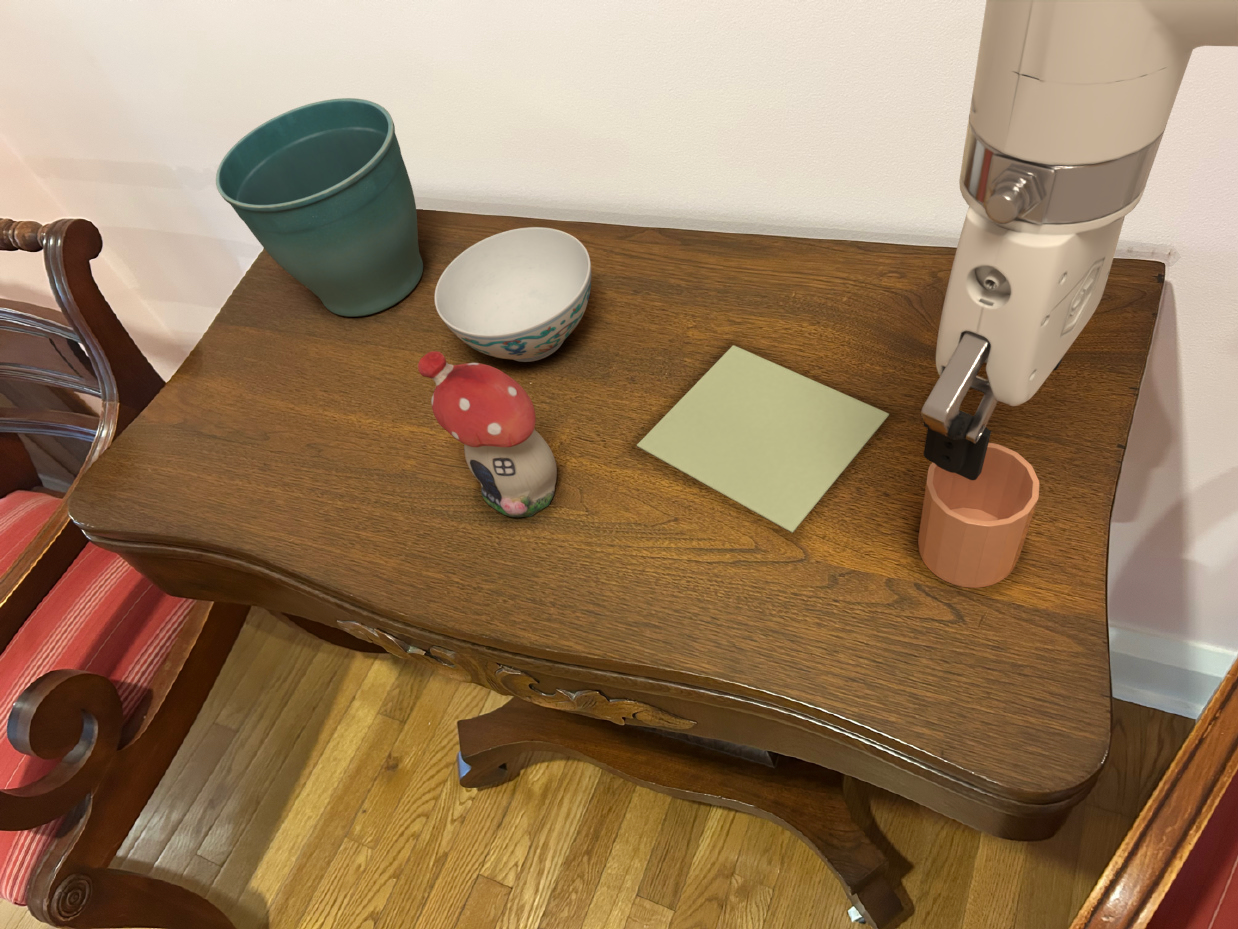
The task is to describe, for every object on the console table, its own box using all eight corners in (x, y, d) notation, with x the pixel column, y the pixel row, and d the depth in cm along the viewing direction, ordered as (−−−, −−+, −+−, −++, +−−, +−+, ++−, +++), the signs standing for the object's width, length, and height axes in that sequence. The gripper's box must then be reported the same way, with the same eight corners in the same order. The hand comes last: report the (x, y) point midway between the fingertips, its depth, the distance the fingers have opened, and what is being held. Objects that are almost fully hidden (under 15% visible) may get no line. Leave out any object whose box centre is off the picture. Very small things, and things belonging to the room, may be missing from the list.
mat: (889, 415, 71) (889, 413, 71) (792, 533, 66) (792, 532, 65) (733, 346, 79) (733, 344, 79) (636, 446, 74) (636, 445, 74)
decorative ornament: (460, 481, 75) (392, 362, 64) (516, 435, 77) (460, 313, 66) (524, 538, 70) (463, 420, 59) (582, 487, 72) (534, 364, 61)
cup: (1035, 536, 62) (1058, 469, 55) (989, 605, 59) (1007, 543, 53) (947, 494, 65) (959, 427, 59) (900, 557, 63) (907, 494, 56)
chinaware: (448, 321, 89) (420, 263, 83) (580, 268, 90) (562, 207, 84) (481, 416, 80) (453, 358, 74) (628, 356, 81) (612, 294, 75)
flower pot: (480, 240, 97) (426, 100, 84) (397, 351, 88) (321, 214, 75) (357, 224, 104) (288, 93, 91) (268, 325, 95) (178, 196, 82)
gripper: (1051, 300, 32) (982, 545, 45) (1227, 72, 38) (1121, 344, 52) (871, 240, 36) (856, 482, 49) (1059, 42, 42) (1001, 303, 55)
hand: (992, 411), depth 50 cm, fingers open, 9 cm apart
